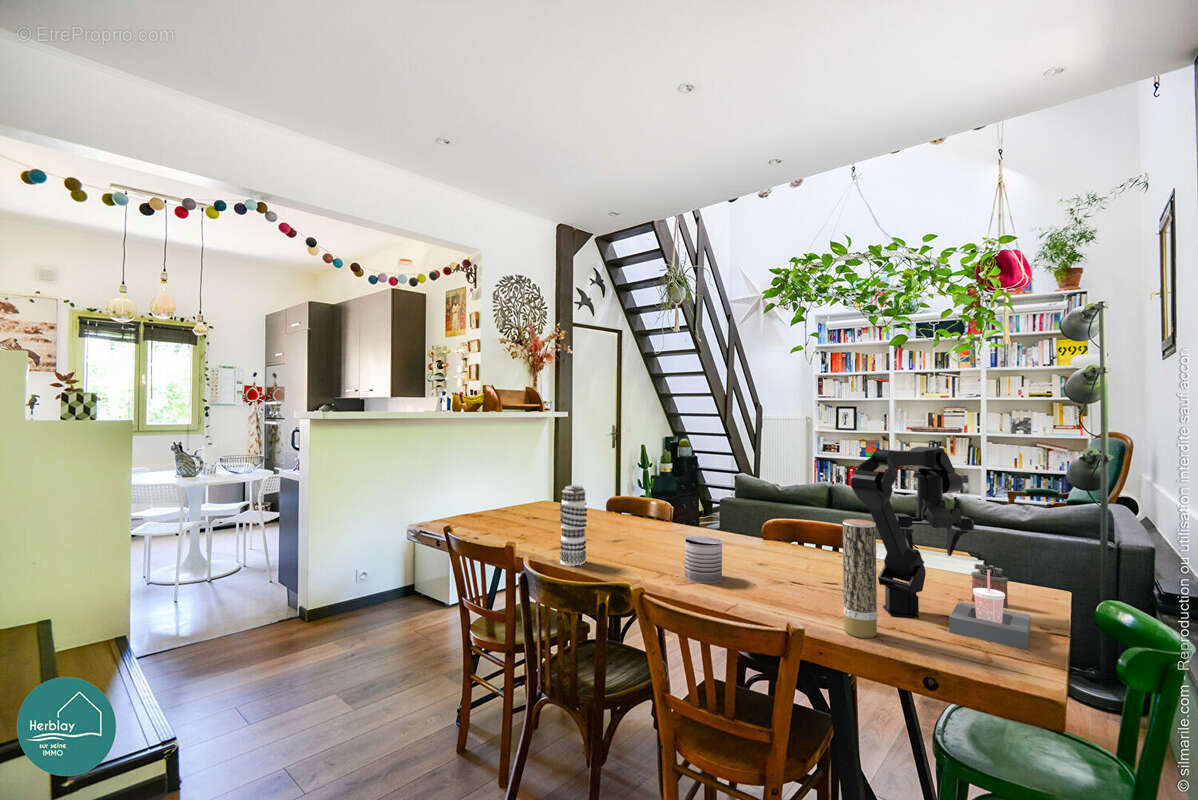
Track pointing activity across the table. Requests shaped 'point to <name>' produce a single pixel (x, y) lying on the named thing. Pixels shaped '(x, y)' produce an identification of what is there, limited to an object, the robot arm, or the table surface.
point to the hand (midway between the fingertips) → (930, 554)
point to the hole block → (991, 626)
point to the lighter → (995, 580)
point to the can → (703, 559)
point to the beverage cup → (989, 603)
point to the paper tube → (859, 578)
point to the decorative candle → (573, 526)
